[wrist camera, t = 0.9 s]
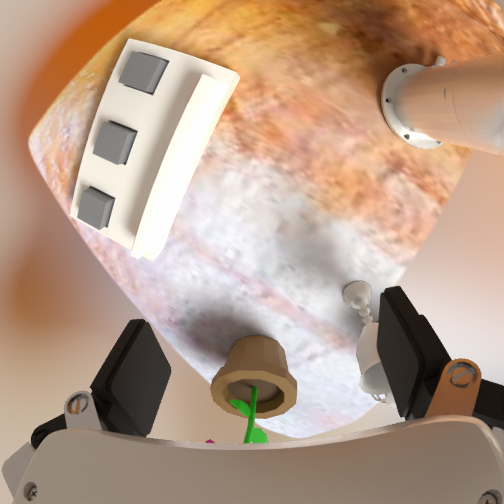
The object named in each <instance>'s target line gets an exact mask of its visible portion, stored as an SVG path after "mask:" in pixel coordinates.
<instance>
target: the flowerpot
mask: <svg viewBox="0 0 504 504" xmlns="http://www.w3.org/2000/svg"><path fill="white" fill-rule="evenodd" d="M210 390H211V393H212V397H213V401H214V402H215V403H216V404H217V405H219V406H220V407H221V408H222V409H224V410H225V411H226V412H228V413H232V414H234V415H237V416H240V417H244V418H249V419H248V427H247V431H246V435H245V439H244V443H243V444H246V443H250V441H252V442H253V443H268V440H267V436H266V434H265V433H264V432H263V431H262V430H261V429H260V428H254V420H255V418H258V419H267V418H270V417H274V416H277V415H281V414H284V413H285V412H287V411H288V410H289V409H290V408H291V407H293V406H294V405H295V404H296V398H297V381H296V380H295V379H294V378H293V377H292V375H291V374H290V373H289V371H288V366H287V361H286V356H285V351H284V349H283V348H282V346H281V345H280V344H279V343H278V341H276V340H273V339H271V338H269V337H266V336H250V335H249V336H247V337H244V338H242V339H240V340H237V341H236V343H235V344H234V346H233V347H232V349H231V351H230V353H229V356H228V358H227V361H226V363H225V366H224V367H221V368H220V370H219V371H218V372H217V374H216V375H215V377H214V378H213V379H212V383H211V388H210ZM206 443H215V442H213V441H212V440H208V441H206Z"/></svg>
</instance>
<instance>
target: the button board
mask: <svg viewBox="0 0 504 504" xmlns="http://www.w3.org/2000/svg"><path fill="white" fill-rule="evenodd" d="M132 51H134V52H138V53H141V54H145V55H149V56H152V57H155V58H159V59H162V60H164V61H166V62H168V65H167V67H166V69H165V71H164V73H163V75H162V77H161V79H160V82H159V84H158V86H157V88H156V90H155V92H154V93H151V92H146V91H143V90H140V89H137V88H134V87H131V86H128V85H125V84H122V83H119V82H118V81H119V78H120V76H121V74H122V72H123V69H124V67H125V65H126V63H127V61H128V59H129V57H130V55H131V53H132ZM239 80H240V77H239V75H238V74H237V73H236V72H234V71H231V70H229V69H226V68H224V67H221V66H219V65H216V64H213V63H211V62H208V61H205V60H202V59H200V58H197V57H194V56H191V55H188V54H185V53H181V52H178V51H175V50H172V49H168V48H165V47H161V46H158V45H154V44H150V43H146V42H142V41H138V40H134V39H130V38H129V39H128V41H127V43H126V45H125V47H124V49H123V51H122V53H121V55H120V57H119V59H118V61H117V64H116V66H115V68H114V70H113V73H112V75H111V77H110V80H109V82H108V84H107V87H106V89H105V92H104V94H103V97H102V99H101V102H100V105H99V107H98V110H97V113H96V116H95V119H94V122H93V125H92V128H91V131H90V134H89V137H88V141H87V144H86V147H85V151H84V154H83V158H82V162H81V166H80V170H79V174H78V178H77V182H76V187H75V191H74V196H73V201H72V206H71V212H70V217H72V218H74V219H76V220H77V221H79V222H81V223H83V224H84V225H86V226H88V227H90V228H91V229H93V230H95V231H97V232H99V233H100V234H102V235H104V236H106V237H108V238H110V239H111V240H113V241H115V242H117V243H119V244H121V245H123V246H124V247H126V248H128V249H130V250H132V252H131V256H133V257H135V258H137V259H139V258H140V257H141V256H143V257H145V258H147V259H149V260H151V261H154V260H155V258H156V257H157V256H158V255H159V253H160V252H161V251H162V250H163V247H164V244H165V242H166V239H167V236H168V234H169V231H170V229H171V226H172V223H173V221H174V218H175V216H176V213H177V211H178V209H179V206H180V204H181V201H182V199H183V196H184V194H185V192H186V189H187V187H188V185H189V182H190V180H191V178H192V175H193V173H194V171H195V169H196V166H197V164H198V162H199V160H200V158H201V155H202V153H203V151H204V149H205V147H206V145H207V143H208V140H209V138H210V136H211V134H212V132H213V130H214V128H215V126H216V124H217V122H218V120H219V118H220V116H221V114H222V112H223V110H224V108H225V106H226V104H227V102H228V100H229V98H230V96H231V95H232V93H233V91H234V89H235V87H236V85H237V83H238V82H239ZM103 122H116V123H118V124H121V125H123V126H126V127H128V128H131V129H133V130H136V131H138V133H137V135H136V138H135V141H134V143H133V146H132V149H131V152H130V154H129V157H128V160H127V162H125V163H122V164H119V165H116V164H114V163H112V162H110V161H107V160H105V159H103V158H101V157H99V156H97V155H94V154H92V153H93V150H94V146H95V143H96V140H97V137H98V134H99V131H100V128H101V125H102V123H103ZM92 186H93V187H95V188H97V189H99V190H101V191H103V192H105V193H107V194H108V195H110V196H112V197H114V198H115V202H114V205H113V209H112V213H111V217H110V220H109V224H108V225H106V226H105V227H103V228H102V229H101V230H98V229H96V228H94V227H93V226H91V225H89V224H87V223H86V222H84V221H82V220H80V219H78V218H77V215H78V210H79V205H80V200H81V196H82V191H83V190H86V189H88V188H90V187H92Z"/></svg>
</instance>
